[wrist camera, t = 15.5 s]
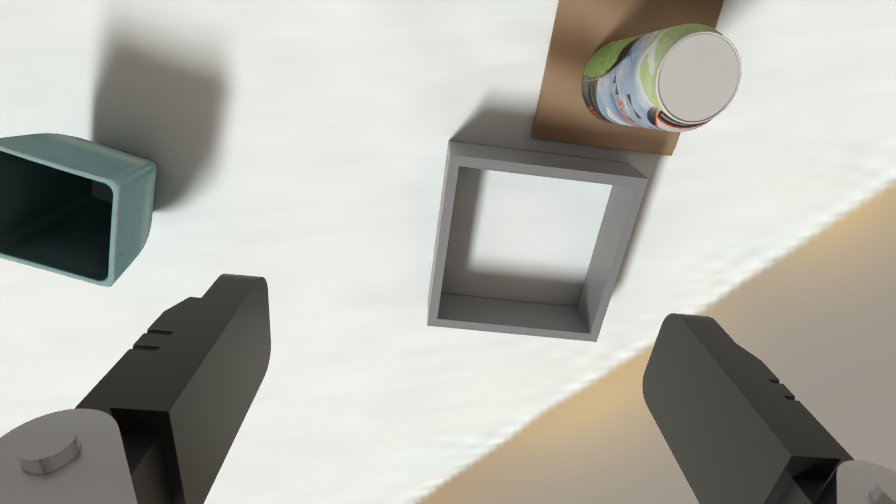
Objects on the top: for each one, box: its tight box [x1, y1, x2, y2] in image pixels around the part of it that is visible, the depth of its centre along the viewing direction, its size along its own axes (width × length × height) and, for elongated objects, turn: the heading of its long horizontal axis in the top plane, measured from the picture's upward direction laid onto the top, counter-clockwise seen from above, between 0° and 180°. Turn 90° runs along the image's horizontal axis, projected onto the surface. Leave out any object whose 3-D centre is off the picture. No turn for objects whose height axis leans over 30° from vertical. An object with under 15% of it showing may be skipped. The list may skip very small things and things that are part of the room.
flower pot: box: [0, 133, 157, 287], centre depth 38 cm, size 9×9×9 cm
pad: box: [531, 0, 724, 156], centre depth 38 cm, size 12×12×1 cm
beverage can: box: [581, 24, 741, 132], centre depth 33 cm, size 6×7×12 cm
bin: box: [427, 141, 649, 342], centre depth 43 cm, size 16×16×4 cm
